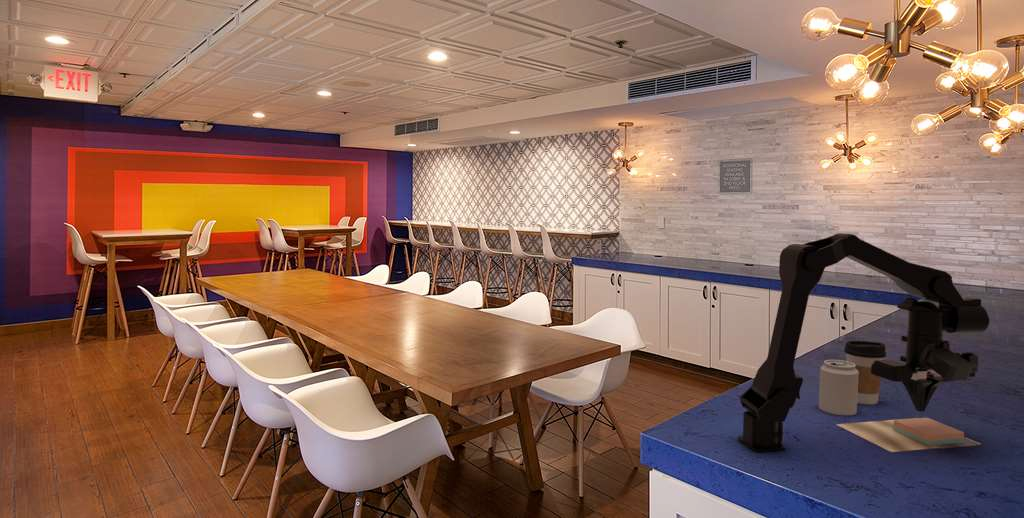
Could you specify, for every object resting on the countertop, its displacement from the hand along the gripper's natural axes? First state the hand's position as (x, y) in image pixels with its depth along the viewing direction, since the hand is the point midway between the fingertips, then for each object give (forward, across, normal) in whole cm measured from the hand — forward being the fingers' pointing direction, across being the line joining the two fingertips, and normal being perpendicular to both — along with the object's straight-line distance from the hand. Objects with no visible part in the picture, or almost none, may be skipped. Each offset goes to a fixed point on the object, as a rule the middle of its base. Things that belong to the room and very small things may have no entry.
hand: (920, 411), depth 114 cm
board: (+6, -1, +2) cm, 7 cm away
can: (+7, -4, +17) cm, 19 cm away
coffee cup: (+7, +6, +22) cm, 23 cm away
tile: (+4, -2, 0) cm, 5 cm away
